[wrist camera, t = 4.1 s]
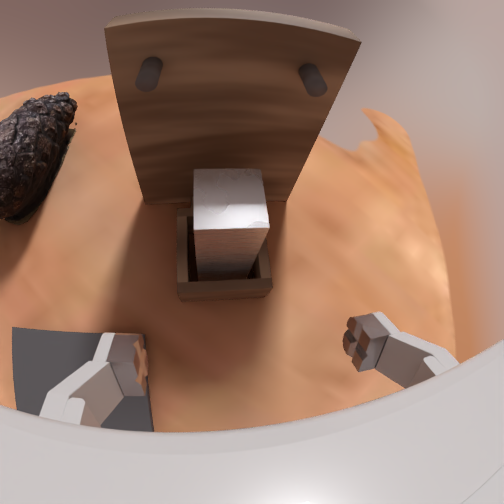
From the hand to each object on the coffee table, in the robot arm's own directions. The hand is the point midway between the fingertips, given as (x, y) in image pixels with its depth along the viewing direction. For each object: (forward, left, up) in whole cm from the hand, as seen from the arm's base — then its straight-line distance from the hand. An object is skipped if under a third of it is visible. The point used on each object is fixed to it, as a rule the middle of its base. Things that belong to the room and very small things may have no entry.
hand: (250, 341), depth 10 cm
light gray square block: (-5, +6, -12) cm, 15 cm away
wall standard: (-7, +8, -12) cm, 16 cm away
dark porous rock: (-31, +1, -13) cm, 33 cm away
